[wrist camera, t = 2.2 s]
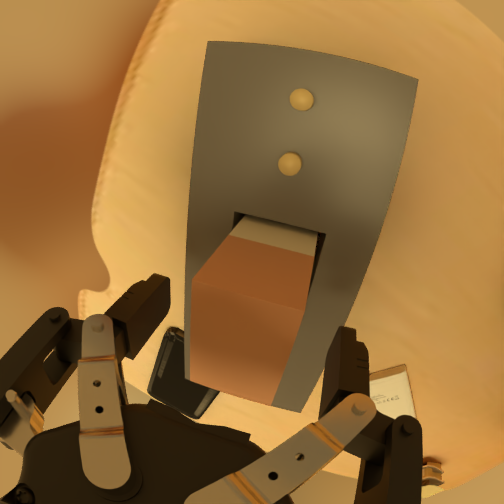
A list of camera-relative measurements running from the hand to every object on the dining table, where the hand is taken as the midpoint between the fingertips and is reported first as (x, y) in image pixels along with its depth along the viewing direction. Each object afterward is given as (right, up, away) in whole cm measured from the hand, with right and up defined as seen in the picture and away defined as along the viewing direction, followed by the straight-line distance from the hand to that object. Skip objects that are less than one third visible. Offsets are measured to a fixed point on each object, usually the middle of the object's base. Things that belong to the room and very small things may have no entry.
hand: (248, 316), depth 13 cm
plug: (+2, +4, +8) cm, 9 cm away
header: (+2, +4, +8) cm, 9 cm away
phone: (-7, -11, +19) cm, 23 cm away
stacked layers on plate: (+27, -30, +18) cm, 44 cm away
